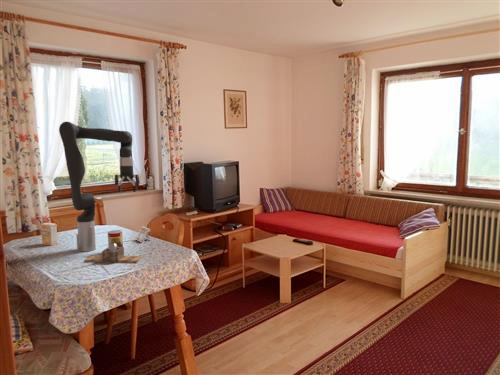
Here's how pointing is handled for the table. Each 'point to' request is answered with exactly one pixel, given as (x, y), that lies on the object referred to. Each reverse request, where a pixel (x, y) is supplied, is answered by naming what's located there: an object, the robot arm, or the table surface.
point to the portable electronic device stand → (144, 234)
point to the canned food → (115, 237)
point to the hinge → (113, 257)
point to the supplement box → (49, 234)
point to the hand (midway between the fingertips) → (127, 191)
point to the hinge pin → (112, 246)
